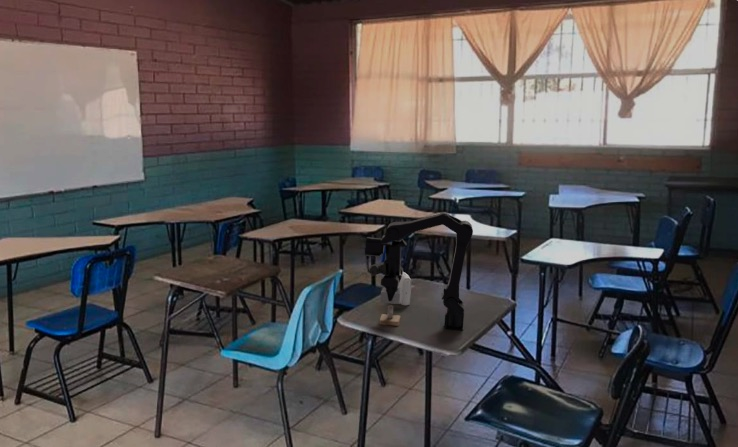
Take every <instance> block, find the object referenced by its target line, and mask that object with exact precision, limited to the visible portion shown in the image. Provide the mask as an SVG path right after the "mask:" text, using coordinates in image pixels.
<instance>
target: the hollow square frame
mask: <svg viewBox="0 0 738 447" xmlns="http://www.w3.org/2000/svg"><path fill="white" fill-rule="evenodd" d="M401 296H402V288H397V290H396V292H395V294H394V297H393V299H392V301H389V300H388V295H387V291H386V288H385V287H384V286H383V287H382V289H381V291H380V303H381V304H382V303H383V304H392V305H393V304H395V305H401V304H400V301H401Z"/></svg>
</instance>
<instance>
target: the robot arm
mask: <svg viewBox="0 0 738 447" xmlns="http://www.w3.org/2000/svg"><path fill="white" fill-rule="evenodd" d="M438 226H445V227H446V228H448V229H449V230H450V231H452V232H453V233H455V242H456V244H455V249H454V250H455V251H454V253H453V254H454V256H453V260H452V265H451V268H450V269H451V270H450V274H449V275H450V276H449V280H448V283H447V284H444V283H443V287H442V288H443V290H442V292H441V300H442V304H443V305H444V307H445V308H446V312H445V314H444V324H443V325H444V326H445V329H447V330H459V331H463V330H464V325H465V324H464V323H465V322H464V321H465V305H464V303H465V302H463V300H462V299H461V298H460V283H461V282H460V281H461V277H462V272H463V266H464V262H465V258H466V251H467V248H468V246H469V244H470V242H471V239H472V237H473V234H474V231H473V226H472V224H471V223H470V222H469V221H467V220H462V219H459V218H457V217H455V216H453V215H450V214H449V213H448V212H446V211H442V212H440V213H438V214H432V215H429V216H425V217H422V218H419V219H415V220H411V221H394V222H393V221H392V222H391V223H389V224H388V226H387V228H386V229H385V233H384V234H383V235H382V237H381V238H380V237H379V238H378V237H372V236H367V237H366V240H365V248H364V256H366V257H381V256H382V255H385V258H384V261H382V262H378V263H374V264H372V265H370V266H369V268H368V269H369V274H370V276H371V277H374V276H375V277H376V276H377V275H381V274H382V275H383V276H382V277H381V279H380V286H383V287H385V288H386V291H387V295H388V300H389V301H392V299H393V297H394V294H395V292H396V290H397V288H398V285H399V282H400V280H401V277H402V274H403V272H404V268H403V266H401V265H402V264H401V263H402V247H404V248H405V247H407V245H408V243H407V242H406V241H405V240H404V239H403V238H405V237H406V236H407V237H408V235H410V234H412V233H416V232H420V231H423V230H427V229H431V228H435V227H438ZM384 253H385V254H384ZM400 273H401V275H400Z"/></svg>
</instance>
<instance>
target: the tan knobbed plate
mask: <svg viewBox="0 0 738 447" xmlns="http://www.w3.org/2000/svg"><path fill="white" fill-rule="evenodd" d="M400 322H401V315H398V314H394V306H393V305H388V306H387V314H386V313H381V316H380V318H379V325H385V326H395V327H398V326H400V325H399V324H400Z"/></svg>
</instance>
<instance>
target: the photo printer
mask: <svg viewBox="0 0 738 447" xmlns="http://www.w3.org/2000/svg"><path fill="white" fill-rule="evenodd" d="M400 275H401V273H400ZM398 288H402V296H401V301H400V304H399V305H402V306H409V305H410V304H411V292H412V279H411V278H410V275H409V274H407V273H406V272H404V271H403V274H402V277H401V280H400V282H399V285H398Z"/></svg>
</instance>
